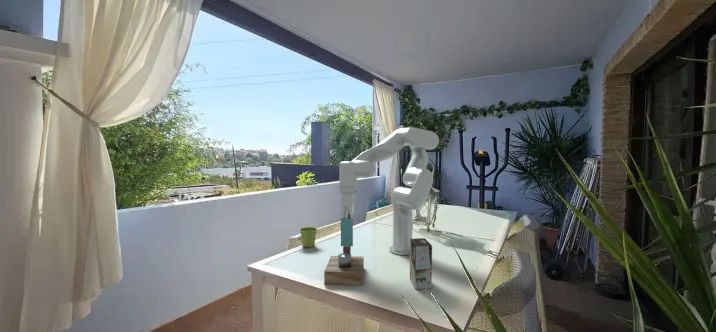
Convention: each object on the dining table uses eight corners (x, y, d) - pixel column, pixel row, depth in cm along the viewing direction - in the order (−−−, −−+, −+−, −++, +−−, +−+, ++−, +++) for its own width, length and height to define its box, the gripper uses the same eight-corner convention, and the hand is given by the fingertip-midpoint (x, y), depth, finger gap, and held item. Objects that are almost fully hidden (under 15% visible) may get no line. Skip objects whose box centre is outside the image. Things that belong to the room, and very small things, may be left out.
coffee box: (432, 288, 111) (433, 245, 110) (415, 289, 111) (415, 246, 109) (424, 277, 120) (425, 237, 119) (408, 278, 120) (409, 238, 119)
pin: (352, 274, 123) (351, 253, 122) (350, 279, 118) (350, 258, 117) (339, 273, 123) (339, 253, 123) (337, 279, 118) (337, 257, 117)
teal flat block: (340, 246, 128) (341, 245, 129) (352, 246, 128) (352, 245, 129) (340, 218, 127) (340, 217, 128) (352, 218, 127) (352, 217, 128)
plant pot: (312, 241, 165) (311, 225, 165) (321, 246, 158) (321, 229, 157) (296, 245, 160) (296, 228, 159) (305, 250, 152) (304, 232, 152)
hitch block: (331, 267, 131) (330, 245, 130) (363, 268, 130) (363, 246, 129) (324, 284, 115) (324, 259, 114) (361, 285, 114) (361, 260, 113)
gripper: (341, 187, 141) (341, 226, 142) (337, 192, 126) (337, 236, 127) (357, 187, 140) (357, 226, 141) (355, 192, 125) (355, 236, 127)
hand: (347, 231), depth 134 cm, fingers closed
